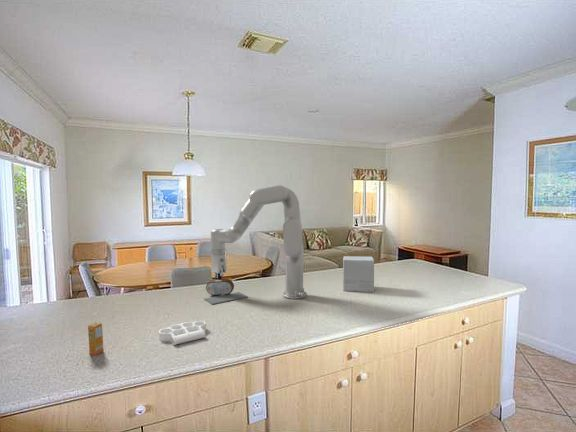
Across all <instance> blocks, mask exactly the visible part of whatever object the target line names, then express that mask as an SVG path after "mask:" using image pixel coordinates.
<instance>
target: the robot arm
mask: <svg viewBox="0 0 576 432" xmlns="http://www.w3.org/2000/svg"><path fill="white" fill-rule="evenodd" d="M275 203H282V206H283V215H284V216H283V217H284V221H283V225H282V235H283V239H282V240H283V249H284V253H285V291H284V292H283V293H282V296H283V298H287V299H292V300H298V299H303V298H305V297H307V292H306V291H305V288H304V250H305V249H304V248H305V247H304V242H303V233H302V231H303V230H302V225H303V224H302V220H301V219H302V218H301V210H300V202H299V199H298V196H297V195H296V193H295V192H294V191H293V190H292V189H290V188H288V187H286V186H284V185H280V184H279V185H275V186H274V185H273V186H269V187H268V186H267V187H263V188H257V189H254V190H252V191H251V192H250V194H249V198H248V199H247V201H246V202H245V204H244V205H243V207H241V209H240V211H239V215H238V218H237V219H236V220H235V222H234V224H233V225H232V226H231V228H228V229H222V228H214V229H211V230H210V255H211V271H212V272H213V274H214V279H223V276H224V273H227V260H226V259H227V258H226V244H234V243H236V242H237V241H239V240H240V239H241V237H242V236H243V235H244V233H245V232H246V231H247V230H248V228H249V226H250V225H251V224H252V222H253V221H254V219H255V218H256V217H257V215H259V212H261V210H262V209H263V207H264V206H265V205H271V204H275Z"/></svg>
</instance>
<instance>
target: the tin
mask: <svg viewBox="0 0 576 432" xmlns="http://www.w3.org/2000/svg"><path fill="white" fill-rule="evenodd" d="M234 289H235V284H234V282H233V281H232V280H231V279H228V278H222V279H215V278H214V279H210V280H209V281H208V282H207V283H206V286H205V290H206V292H207V293H208V294H209V295H210V296H211V295H212V296H221V295H227V294H231V293H233V291H234Z"/></svg>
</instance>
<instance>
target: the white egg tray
mask: <svg viewBox="0 0 576 432" xmlns="http://www.w3.org/2000/svg"><path fill="white" fill-rule="evenodd" d="M206 332H207V322H206V321H205V320H195V321H185V322H182V323H175V324H172V325H170V326H168V327H164V328H161V329H159V331H158V341H160V342H170V343H171V345H173V346H176V345H179V344H183V343H184V344H185V343H188V342H192V341H196V340H200V339H204V338H206Z"/></svg>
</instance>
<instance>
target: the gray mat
mask: <svg viewBox="0 0 576 432" xmlns="http://www.w3.org/2000/svg"><path fill="white" fill-rule="evenodd" d="M247 298H249V297H248V295H247V294H244V293H242V292H240V291H239V292H231V293H230V294H227V295H215V296H211V297H205V298H204V301H206V302H207V303H208V304H210V305H213V306H214V305H219V304H223V303H227V302H233V301H237V300H242V299H247Z"/></svg>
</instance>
